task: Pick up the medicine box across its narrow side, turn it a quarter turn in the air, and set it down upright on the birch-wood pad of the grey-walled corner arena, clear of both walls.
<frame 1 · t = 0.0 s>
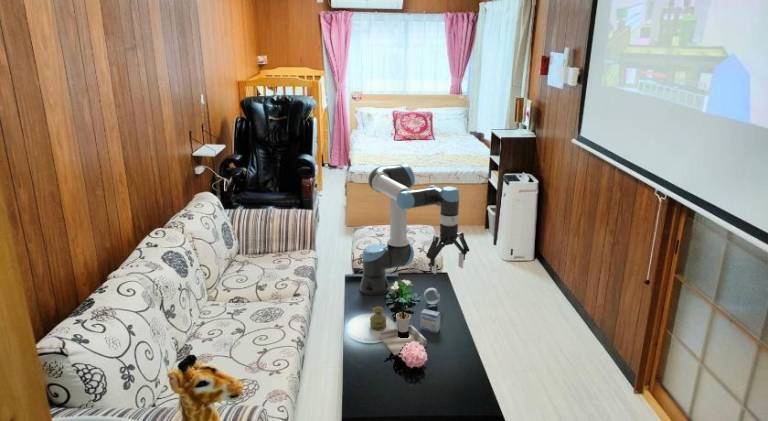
hand: (447, 269, 228), 28 cm above the table, fingers open, 13 cm apart
watch: (431, 309, 252), on the table
gold round knobbed cylinder: (378, 327, 237), on the table
corner arena: (403, 343, 224), on the table
medicine box: (430, 329, 234), on the table
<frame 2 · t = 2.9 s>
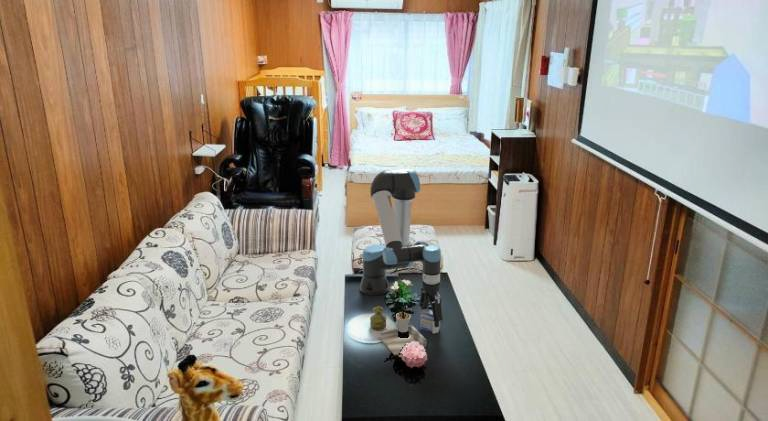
hand: (430, 327, 234), 1 cm above the table, fingers closed on medicine box, 9 cm apart
medicine box: (430, 329, 234), on the table, touching gripper
everything else where it was.
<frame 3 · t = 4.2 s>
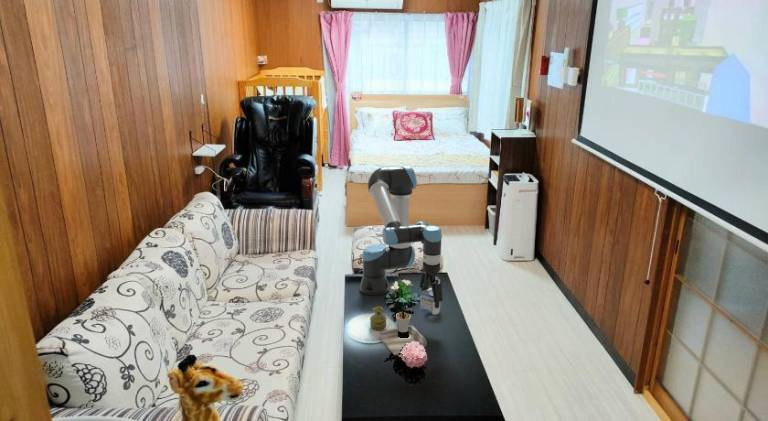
hand: (430, 308, 232), 10 cm above the table, fingers closed on medicine box, 9 cm apart
medicine box: (430, 311, 232), point 9 cm above the table, touching gripper
everything else where it was.
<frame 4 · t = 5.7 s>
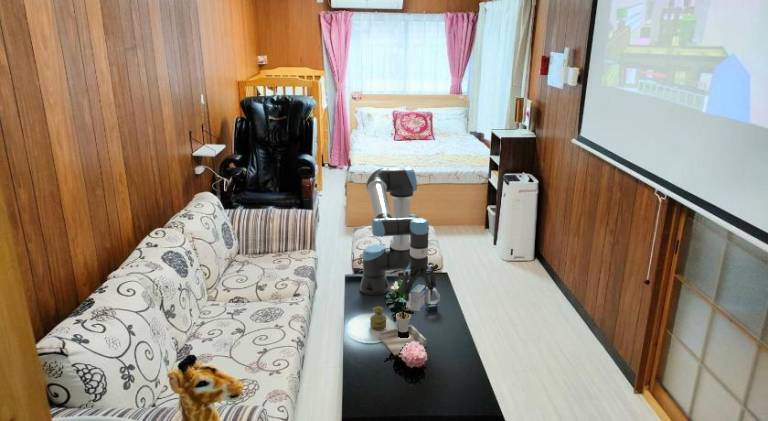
hand: (418, 304, 224), 16 cm above the table, fingers closed on medicine box, 9 cm apart
medicine box: (418, 307, 224), point 14 cm above the table, touching gripper
everything else where it was.
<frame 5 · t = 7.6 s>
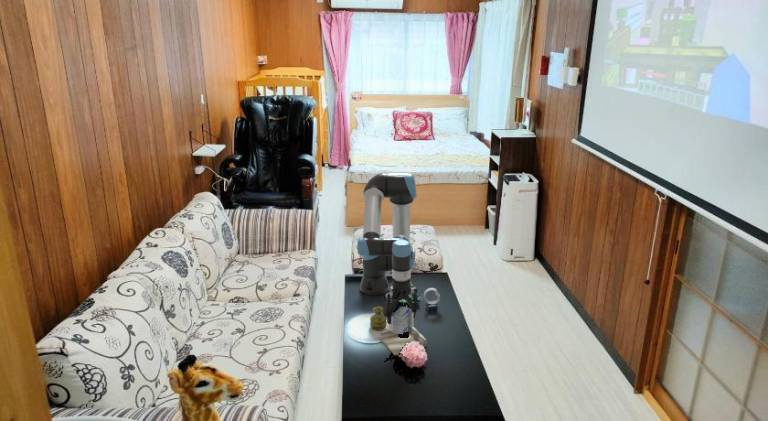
hand: (401, 327, 220), 8 cm above the table, fingers closed on medicine box, 9 cm apart
medicine box: (401, 330, 220), point 7 cm above the table, touching gripper
everything else where it was.
when the fingers open (4 cm above the table, at t = 8.9 s): medicine box drops 2 cm, resting on corner arena.
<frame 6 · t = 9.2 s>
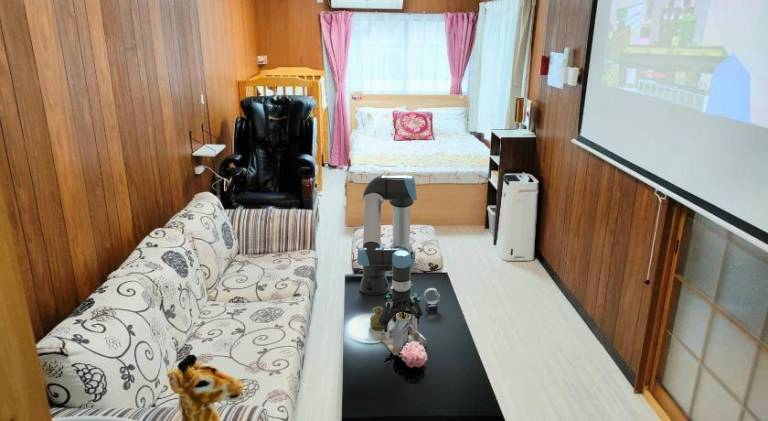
hand: (401, 334, 221), 5 cm above the table, fingers open, 12 cm apart
medicine box: (400, 343, 222), point 1 cm above the table, touching corner arena
everything else where it was.
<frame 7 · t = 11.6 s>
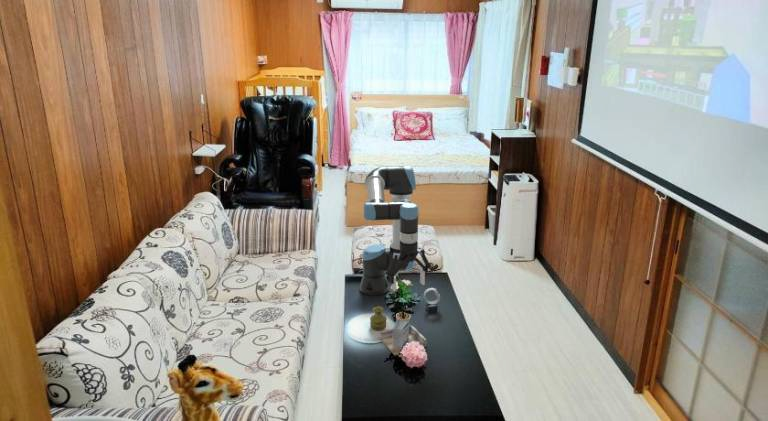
hand: (408, 287, 223), 23 cm above the table, fingers open, 13 cm apart
nothing on the table moved.
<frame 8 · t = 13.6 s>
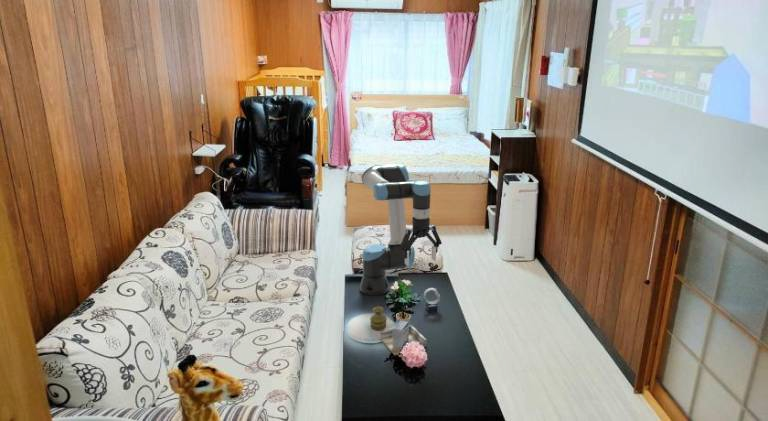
hand: (420, 262, 235), 29 cm above the table, fingers open, 13 cm apart
nothing on the table moved.
at the end: medicine box 0.8 cm from the target spot on the corner arena, point 0.6 cm above the corner arena's base; medicine box tilted 0°; the gripper is holding nothing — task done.
